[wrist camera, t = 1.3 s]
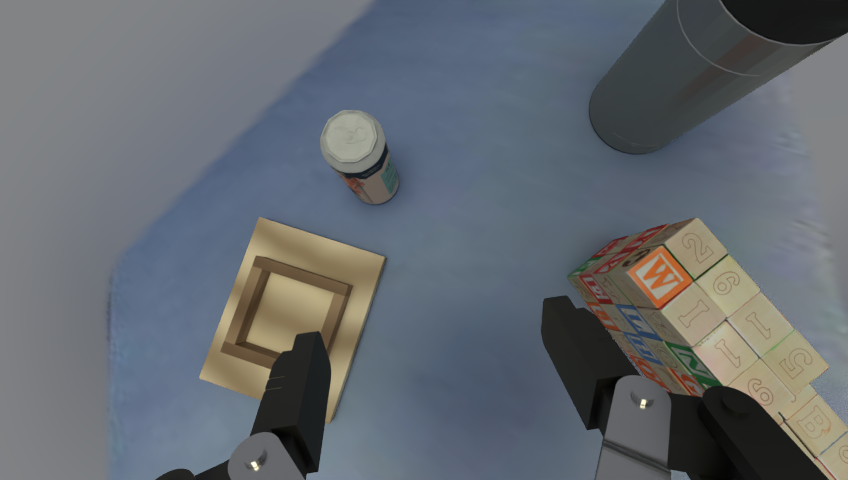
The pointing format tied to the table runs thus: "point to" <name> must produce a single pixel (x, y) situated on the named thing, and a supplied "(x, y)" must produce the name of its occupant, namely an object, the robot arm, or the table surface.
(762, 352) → the stack of blocks
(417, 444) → the table surface
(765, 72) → the robot arm
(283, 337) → the base board
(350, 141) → the beer can
